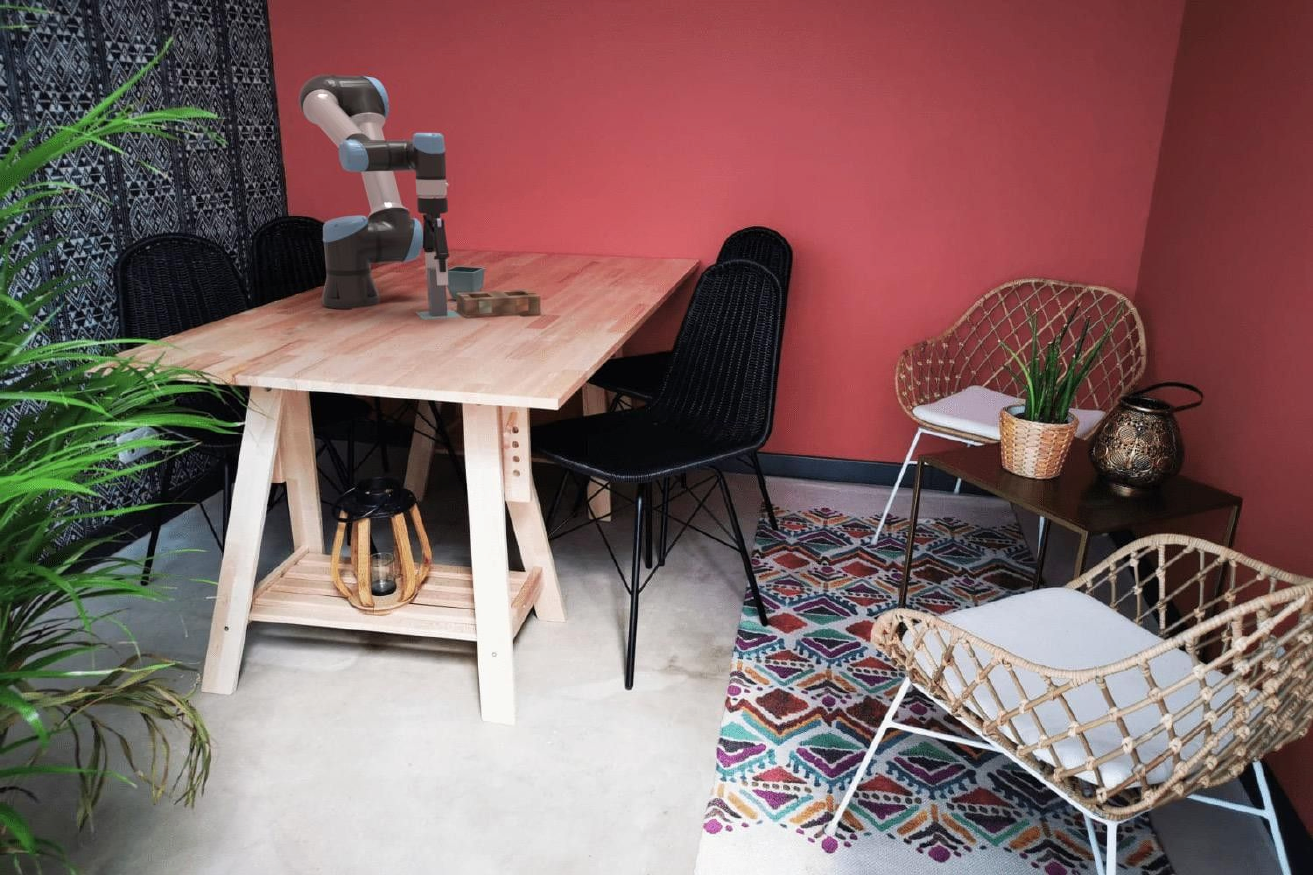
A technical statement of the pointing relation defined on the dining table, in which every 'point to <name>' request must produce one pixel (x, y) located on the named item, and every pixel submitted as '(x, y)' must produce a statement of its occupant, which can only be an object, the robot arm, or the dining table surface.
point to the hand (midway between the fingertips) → (437, 281)
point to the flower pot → (465, 280)
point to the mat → (426, 315)
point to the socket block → (498, 303)
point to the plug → (436, 294)
